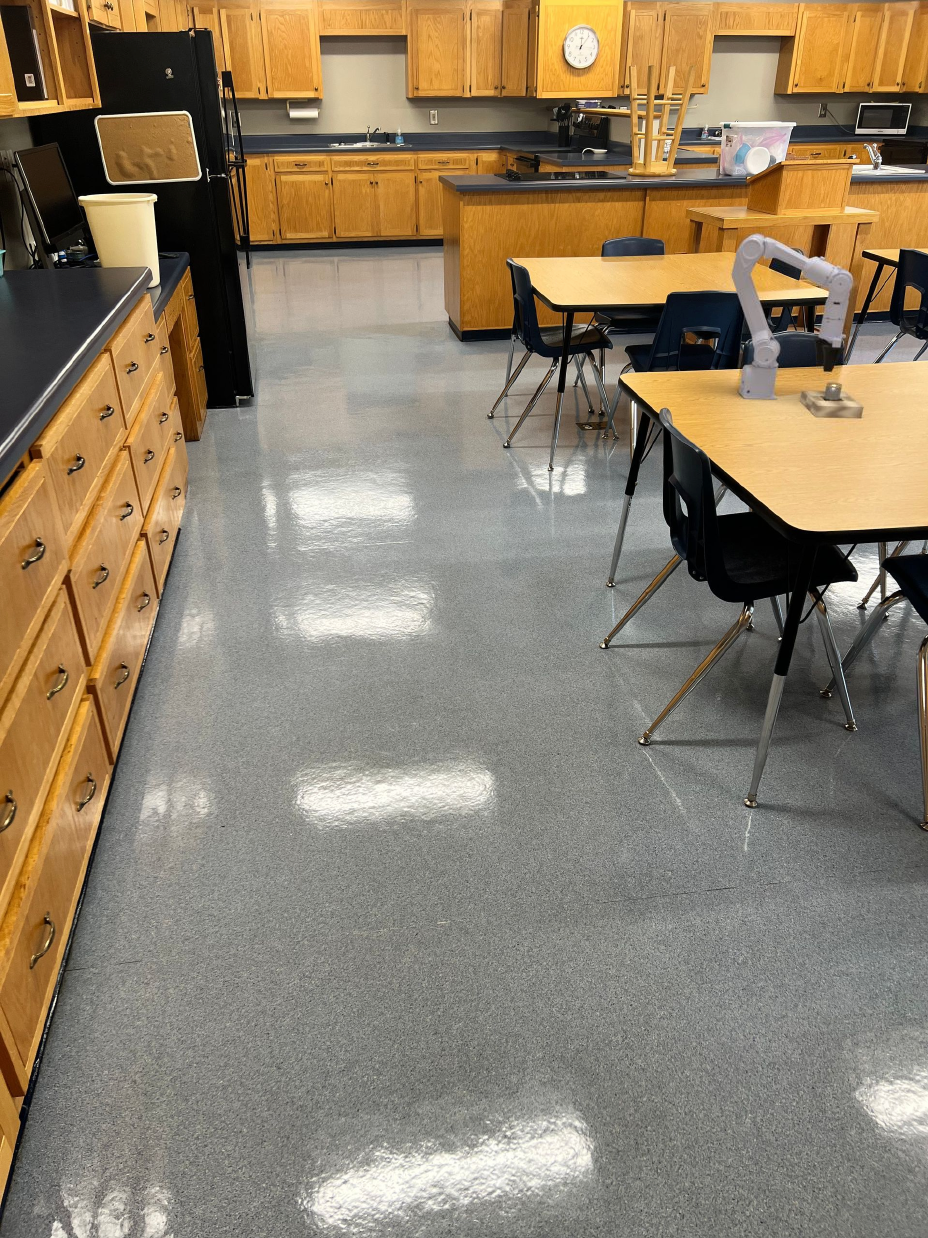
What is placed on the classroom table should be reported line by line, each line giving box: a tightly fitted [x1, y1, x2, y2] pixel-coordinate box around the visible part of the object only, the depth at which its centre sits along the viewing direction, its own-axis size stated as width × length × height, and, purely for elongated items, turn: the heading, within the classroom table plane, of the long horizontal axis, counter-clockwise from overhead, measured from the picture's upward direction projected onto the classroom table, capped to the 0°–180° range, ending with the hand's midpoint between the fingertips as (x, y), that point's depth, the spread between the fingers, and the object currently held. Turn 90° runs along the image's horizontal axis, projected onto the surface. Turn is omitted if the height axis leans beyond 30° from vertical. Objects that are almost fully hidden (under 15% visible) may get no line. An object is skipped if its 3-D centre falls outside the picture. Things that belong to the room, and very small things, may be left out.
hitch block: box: [799, 390, 865, 419], centre depth 248 cm, size 12×16×3 cm
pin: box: [824, 381, 843, 401], centre depth 247 cm, size 4×4×7 cm
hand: (823, 368), depth 252 cm, fingers open, 7 cm apart
